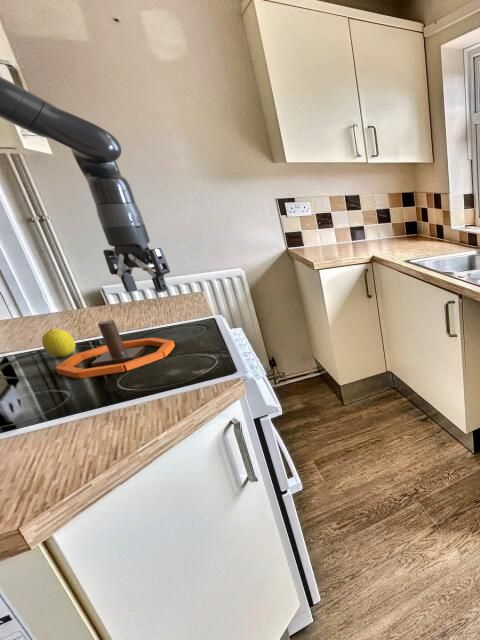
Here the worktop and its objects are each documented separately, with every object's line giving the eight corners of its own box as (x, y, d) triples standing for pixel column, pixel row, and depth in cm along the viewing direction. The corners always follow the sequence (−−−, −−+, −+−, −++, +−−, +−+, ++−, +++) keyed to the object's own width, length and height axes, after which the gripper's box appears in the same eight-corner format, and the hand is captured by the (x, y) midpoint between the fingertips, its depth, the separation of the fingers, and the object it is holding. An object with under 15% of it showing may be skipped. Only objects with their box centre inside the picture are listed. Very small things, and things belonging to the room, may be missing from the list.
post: (93, 368, 101) (76, 329, 97) (107, 357, 107) (92, 319, 104) (134, 362, 103) (119, 324, 100) (146, 351, 110) (132, 315, 107)
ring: (43, 385, 93) (39, 378, 92) (87, 352, 111) (84, 346, 110) (158, 367, 100) (155, 360, 100) (182, 339, 118) (180, 333, 117)
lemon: (65, 362, 105) (52, 332, 102) (43, 362, 105) (29, 332, 102) (86, 353, 110) (74, 324, 107) (65, 354, 110) (52, 325, 107)
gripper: (79, 226, 95) (107, 295, 101) (133, 225, 93) (158, 296, 99) (113, 222, 102) (137, 287, 108) (164, 221, 100) (185, 288, 106)
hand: (147, 291), depth 104 cm, fingers open, 8 cm apart
